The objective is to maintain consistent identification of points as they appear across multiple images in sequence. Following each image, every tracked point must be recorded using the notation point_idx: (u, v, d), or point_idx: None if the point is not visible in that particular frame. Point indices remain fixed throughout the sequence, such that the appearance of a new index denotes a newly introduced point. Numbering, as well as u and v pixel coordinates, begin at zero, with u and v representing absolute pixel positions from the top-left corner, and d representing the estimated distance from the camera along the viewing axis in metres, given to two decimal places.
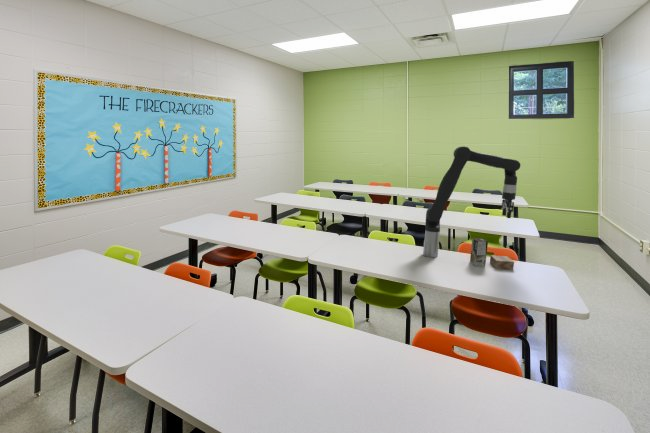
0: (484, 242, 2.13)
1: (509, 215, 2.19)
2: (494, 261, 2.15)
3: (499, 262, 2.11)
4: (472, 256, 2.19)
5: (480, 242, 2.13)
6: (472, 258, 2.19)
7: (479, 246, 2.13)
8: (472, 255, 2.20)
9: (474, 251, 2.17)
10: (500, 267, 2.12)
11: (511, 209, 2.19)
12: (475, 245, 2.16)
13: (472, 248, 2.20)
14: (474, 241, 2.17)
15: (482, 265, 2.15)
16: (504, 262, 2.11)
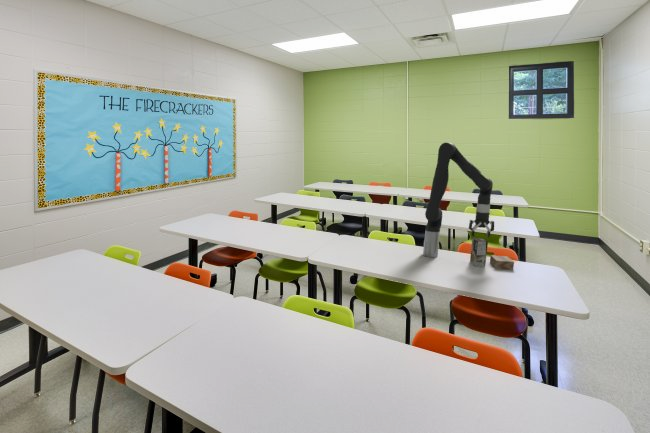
0: (484, 242, 2.13)
1: None
2: (494, 261, 2.15)
3: (499, 262, 2.11)
4: (472, 256, 2.19)
5: (480, 242, 2.13)
6: (472, 258, 2.19)
7: (479, 246, 2.13)
8: (472, 255, 2.20)
9: (474, 251, 2.17)
10: (500, 267, 2.12)
11: (488, 228, 2.16)
12: (475, 245, 2.16)
13: (472, 248, 2.20)
14: (474, 241, 2.17)
15: (482, 265, 2.15)
16: (504, 262, 2.11)
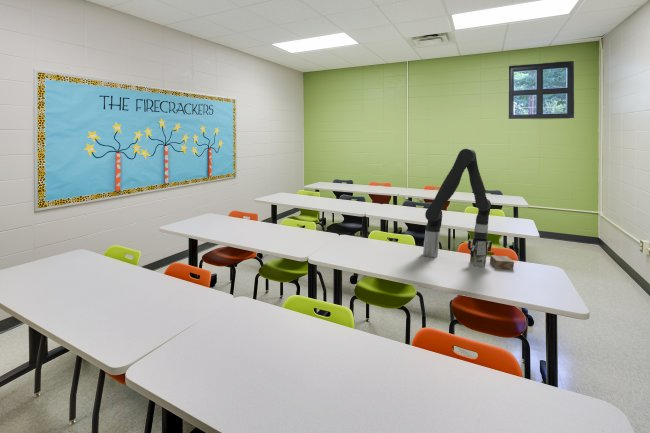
0: (484, 242, 2.13)
1: None
2: (494, 261, 2.15)
3: (499, 262, 2.11)
4: None
5: (480, 242, 2.13)
6: (472, 258, 2.19)
7: (479, 246, 2.13)
8: None
9: (474, 251, 2.17)
10: (500, 267, 2.12)
11: None
12: (475, 245, 2.16)
13: None
14: None
15: (482, 265, 2.15)
16: (504, 262, 2.11)
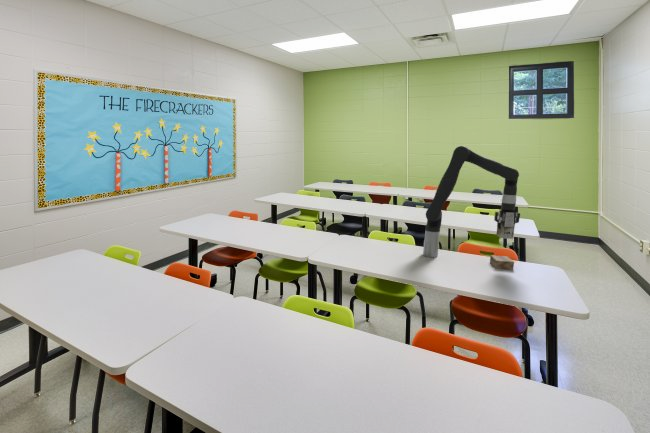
0: (512, 213, 2.07)
1: None
2: (494, 261, 2.15)
3: (499, 262, 2.11)
4: (500, 228, 2.13)
5: (508, 213, 2.07)
6: (499, 230, 2.14)
7: (507, 217, 2.08)
8: None
9: (501, 223, 2.11)
10: (500, 267, 2.12)
11: None
12: (502, 216, 2.10)
13: None
14: None
15: (510, 237, 2.09)
16: (504, 262, 2.11)
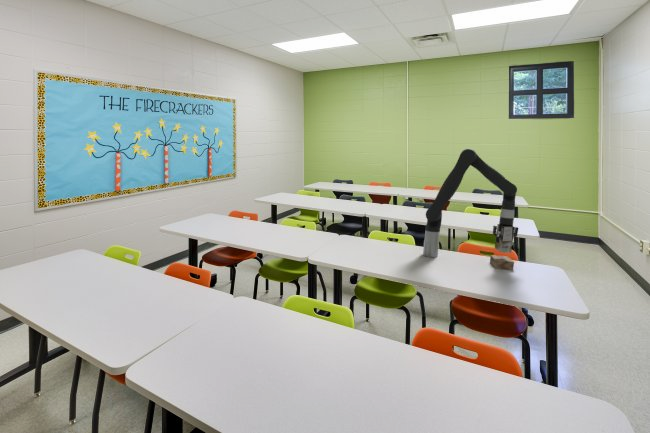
0: (510, 227, 2.09)
1: None
2: (494, 261, 2.15)
3: (499, 262, 2.11)
4: (498, 242, 2.15)
5: (506, 227, 2.09)
6: (498, 244, 2.15)
7: (505, 232, 2.09)
8: None
9: (500, 237, 2.13)
10: (500, 267, 2.12)
11: None
12: (501, 231, 2.12)
13: None
14: None
15: (508, 251, 2.11)
16: (504, 262, 2.11)
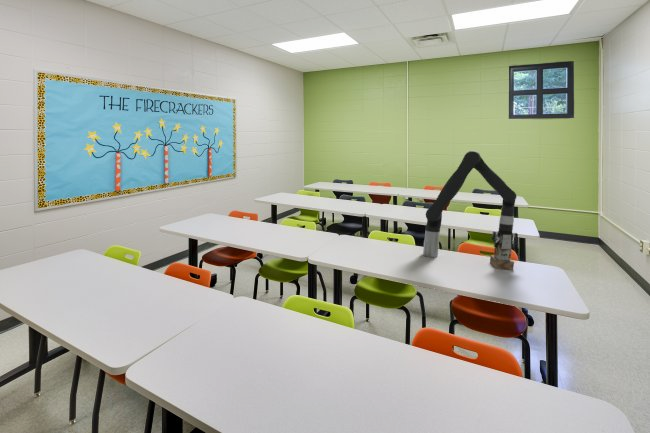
0: (509, 235, 2.10)
1: None
2: (494, 261, 2.15)
3: (499, 262, 2.11)
4: (497, 249, 2.16)
5: (505, 235, 2.10)
6: (497, 252, 2.16)
7: (504, 239, 2.10)
8: (496, 249, 2.17)
9: (499, 245, 2.14)
10: (500, 267, 2.12)
11: None
12: (500, 238, 2.13)
13: None
14: None
15: (507, 259, 2.12)
16: (504, 262, 2.11)
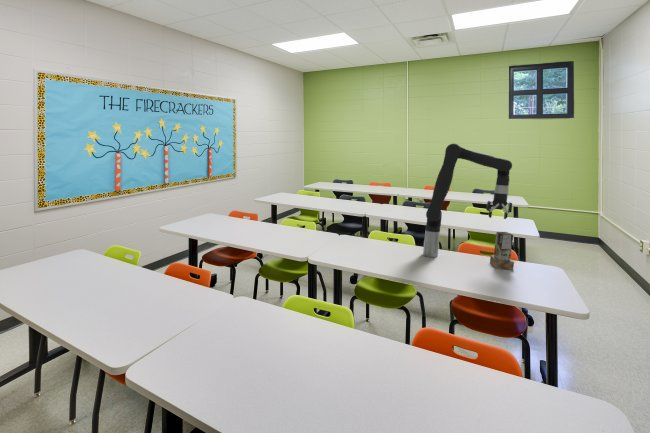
0: (509, 235, 2.10)
1: None
2: (494, 261, 2.15)
3: (499, 262, 2.11)
4: (497, 249, 2.16)
5: (505, 235, 2.10)
6: (497, 252, 2.16)
7: (504, 239, 2.10)
8: (496, 249, 2.17)
9: (499, 245, 2.14)
10: (500, 267, 2.12)
11: None
12: (500, 238, 2.13)
13: (496, 242, 2.17)
14: (499, 235, 2.14)
15: (507, 259, 2.12)
16: (504, 262, 2.11)
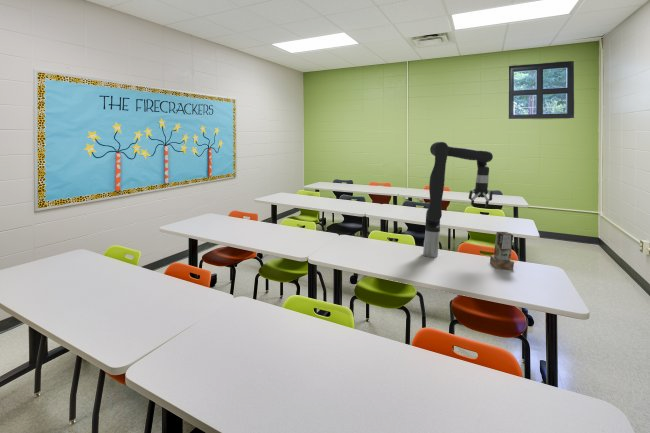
0: (509, 235, 2.10)
1: None
2: (494, 261, 2.15)
3: (499, 262, 2.11)
4: (497, 249, 2.16)
5: (505, 235, 2.10)
6: (497, 252, 2.16)
7: (504, 239, 2.10)
8: (496, 249, 2.17)
9: (499, 245, 2.14)
10: (500, 267, 2.12)
11: None
12: (500, 238, 2.13)
13: (496, 242, 2.17)
14: (499, 235, 2.14)
15: (507, 259, 2.12)
16: (504, 262, 2.11)
